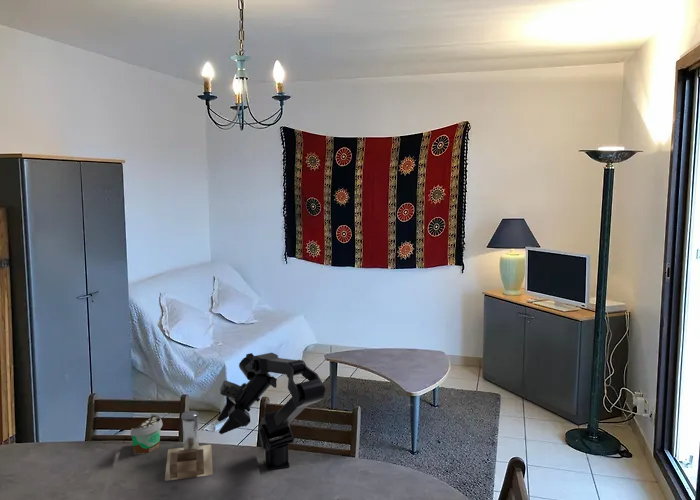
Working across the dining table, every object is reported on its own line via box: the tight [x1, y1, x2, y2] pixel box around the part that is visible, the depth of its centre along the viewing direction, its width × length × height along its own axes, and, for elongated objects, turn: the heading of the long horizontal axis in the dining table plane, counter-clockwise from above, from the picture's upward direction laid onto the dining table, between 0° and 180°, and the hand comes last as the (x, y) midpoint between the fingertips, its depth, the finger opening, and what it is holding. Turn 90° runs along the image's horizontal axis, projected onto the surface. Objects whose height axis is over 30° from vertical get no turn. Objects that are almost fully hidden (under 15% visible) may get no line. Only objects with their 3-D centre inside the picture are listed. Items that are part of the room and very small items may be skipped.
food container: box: [130, 413, 164, 455], centre depth 176 cm, size 12×6×10 cm, turn 168°
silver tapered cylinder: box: [181, 410, 200, 450], centre depth 171 cm, size 5×5×13 cm
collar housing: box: [164, 444, 214, 481], centre depth 168 cm, size 13×19×6 cm
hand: (219, 426), depth 173 cm, fingers open, 9 cm apart
